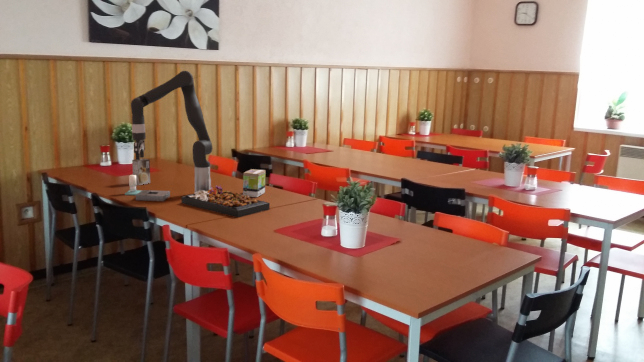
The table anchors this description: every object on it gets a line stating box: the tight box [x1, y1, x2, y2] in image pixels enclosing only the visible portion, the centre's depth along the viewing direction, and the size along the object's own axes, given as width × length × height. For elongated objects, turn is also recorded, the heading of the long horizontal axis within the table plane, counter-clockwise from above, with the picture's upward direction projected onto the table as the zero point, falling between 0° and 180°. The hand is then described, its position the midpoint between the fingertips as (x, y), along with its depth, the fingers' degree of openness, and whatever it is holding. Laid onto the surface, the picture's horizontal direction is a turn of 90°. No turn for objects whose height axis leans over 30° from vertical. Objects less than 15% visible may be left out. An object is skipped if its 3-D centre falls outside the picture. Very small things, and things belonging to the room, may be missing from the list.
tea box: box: [242, 168, 267, 198], centre depth 353 cm, size 15×10×15 cm
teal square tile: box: [124, 189, 143, 196], centre depth 345 cm, size 9×9×1 cm
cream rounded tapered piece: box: [128, 174, 138, 192], centre depth 344 cm, size 4×4×10 cm
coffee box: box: [131, 158, 151, 186], centre depth 372 cm, size 9×6×16 cm
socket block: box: [135, 189, 171, 202], centre depth 335 cm, size 16×14×3 cm
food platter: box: [180, 185, 270, 218], centre depth 321 cm, size 45×25×10 cm, turn 53°
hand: (139, 158), depth 343 cm, fingers open, 8 cm apart
